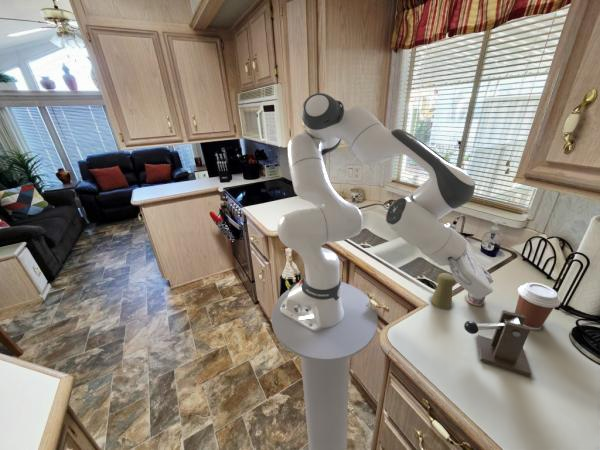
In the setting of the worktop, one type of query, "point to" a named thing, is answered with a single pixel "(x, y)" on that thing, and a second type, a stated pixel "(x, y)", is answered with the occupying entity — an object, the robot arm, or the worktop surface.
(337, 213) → the robot arm
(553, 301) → the coffee cup
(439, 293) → the olive tapered figurine
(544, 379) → the worktop surface
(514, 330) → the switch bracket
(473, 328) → the lever
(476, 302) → the pill bottle
